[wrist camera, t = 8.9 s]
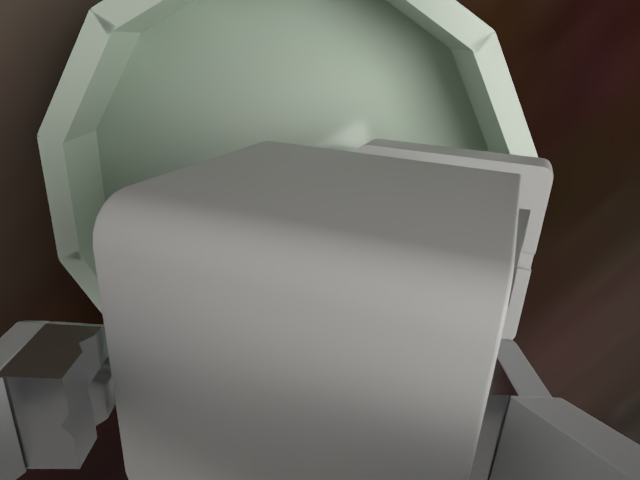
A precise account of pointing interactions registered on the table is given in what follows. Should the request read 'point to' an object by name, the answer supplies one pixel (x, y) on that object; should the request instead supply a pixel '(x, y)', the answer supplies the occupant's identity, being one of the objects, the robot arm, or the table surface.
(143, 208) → the security camera
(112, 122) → the faceted green bowl
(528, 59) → the table surface
